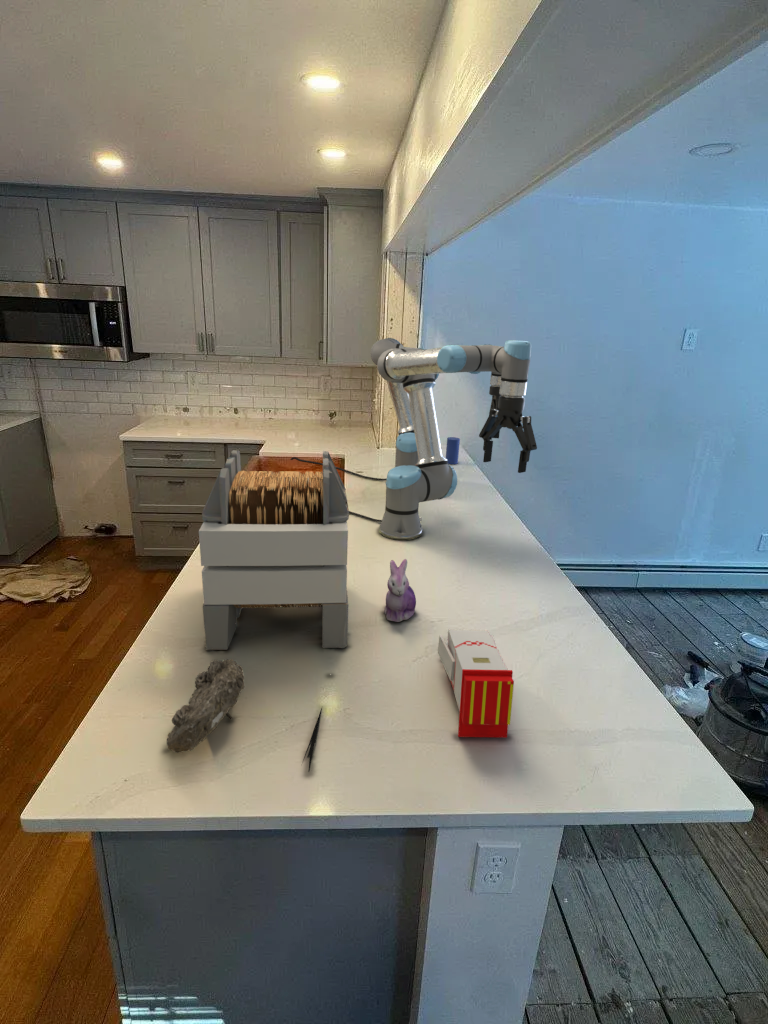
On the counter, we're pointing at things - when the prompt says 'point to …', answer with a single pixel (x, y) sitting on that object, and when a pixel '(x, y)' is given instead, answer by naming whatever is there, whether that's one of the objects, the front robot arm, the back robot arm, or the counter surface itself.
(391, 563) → the figurine
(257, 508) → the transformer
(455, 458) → the can
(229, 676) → the fossil
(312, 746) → the feather
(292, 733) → the counter surface
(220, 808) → the counter surface
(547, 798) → the counter surface
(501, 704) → the toy
